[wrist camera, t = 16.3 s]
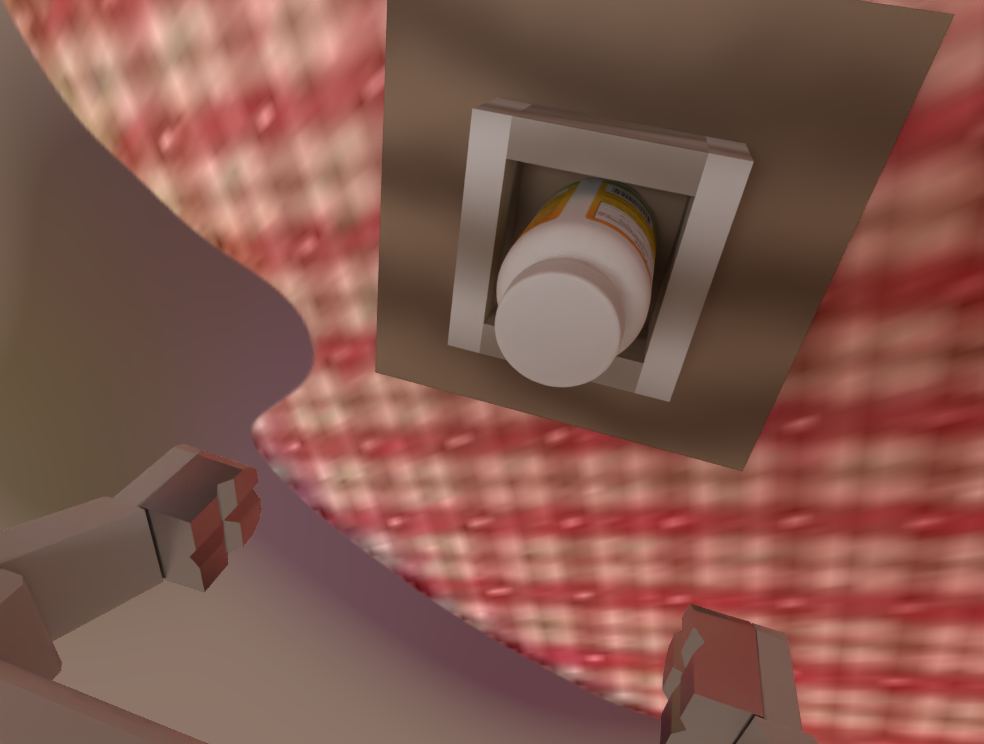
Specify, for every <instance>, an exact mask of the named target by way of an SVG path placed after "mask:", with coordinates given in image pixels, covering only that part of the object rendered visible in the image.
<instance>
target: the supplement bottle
mask: <svg viewBox="0 0 984 744" xmlns="http://www.w3.org/2000/svg"><path fill="white" fill-rule="evenodd" d="M656 250H657V229H656V224H655V221H654V218H653V215H652V213H651V211H650V209H649V207H648V206H647V204H646V203H645V202H644V200H643V199H642V198H641V197H640V196H639V195H638V194H637V193H636V192H635V191H633V190H632V189H631V188H629V187H627V186H626V185H624V184H622V183H619V182H617V181H614V180H610V179H605V178H588V179H582V180H578V181H575V182H572V183H570V184H568V185H566V186H564V187H563V188H561V189H560V190H558V191H557V192H556V193H554V194H553V195H552V196H551V197H550V198H549V199H548V200H547V201H546V203H545V204H544V205H543V206H542V208H541V209H540V210H539V212H538V213H537V215H536V216H535V217H534V219H533V220H532V221H531V223H530V224H529V225H528V226H527V228H526V229H525V230H524V232H523V233H522V234H521V236H520V237H519V238H518V240H517V241H516V242H515V244H514V245H513V246H512V248H511V249H510V251H509V252H508V254H507V256H506V257H505V259H504V261H503V263H502V266H501V268H500V272H499V275H498V280H497V290H496V292H497V303H498V308H497V311H496V316H495V334H496V339H497V343H498V346H499V348H500V350H501V352H502V354H503V355H504V357H505V358H506V360H507V361H508V362H509V363H510V365H511V366H512V367H513V368H514V369H516V370H517V371H518V372H519V373H521V374H522V375H523V376H525V377H527V378H528V379H530V380H532V381H535V382H537V383H540V384H543V385H546V386H553V387H572V386H578V385H581V384H585V383H587V382H590V381H591V380H593V379H595V378H597V377H598V376H600V375H601V374H602V373H603V372H604V371H606V370H607V369H608V367H609V366H610V365H611V364H612V362H613V361H614V359H615V357H616V356H617V355H618V354H620V353H621V352H622V351H624V350H625V349H626V348H627V347H628V346H629V345H630V344H631V343H632V342H633V341H634V340H635V338H636V337H637V336H638V334H639V333H640V331H641V329H642V327H643V325H644V323H645V320H646V317H647V314H648V310H649V305H650V301H651V290H652V280H653V274H654V265H655V258H656Z"/></svg>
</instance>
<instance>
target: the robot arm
mask: <svg viewBox="0 0 984 744" xmlns="http://www.w3.org/2000/svg"><path fill="white" fill-rule="evenodd" d="M257 483H258V477H257V470H256V469H255V468H252V467H250V466H247V465H244V464H242V463H239V462H235V461H233V460H230V459H227V458H224V457H221V456H218V455H215V454H213V453H210V452H207V451H203V450H200V449H197V448H194V447H191V446H188V445H185V444H182V445H179V446H176V447H173V448H172V449H171V450H170V451H168V452H167V453H166V454H165V455H164V456H163V457H161V458H160V459H159V460H158V461H157V462H155V463H154V464H153V465H152V466H151V467H149V468H148V469H147V470H146V471H145V472H143V473H142V474H141V475H140V476H139V477H137V478H136V479H135V480H134V481H133V482H132V483H130V484H129V485H128V486H127V487H126V488H124V489H123V490H122V491H121V492H120V493H118V494H117V495H116V496H115V497H114V498H110V497H107V496H105V497H102V498H99V499H96V500H93V501H89V502H87V503H84V504H80V505H77V506H74V507H71V508H69V509H65V510H62V511H59V512H56V513H53V514H50V515H48V516H44V517H41V518H38V519H35V520H33V521H29V522H26V523H24V524H20V525H17V526H14V527H11V528H8V529H5V530H2V531H0V744H208V743H205V742H203V741H200V740H198V739H195V738H193V737H191V736H188V735H186V734H183V733H181V732H178V731H176V730H173V729H171V728H168V727H166V726H163V725H161V724H158V723H156V722H153V721H151V720H148V719H146V718H144V717H141V716H139V715H136V714H134V713H131V712H129V711H126V710H124V709H121V708H119V707H117V706H114V705H111V704H109V703H107V702H104V701H102V700H99V699H97V698H94V697H92V696H89V695H87V694H84V693H82V692H79V691H77V690H74V689H72V688H70V687H67V686H65V685H62V684H60V683H57V682H55V681H52V680H53V679H54V678H55V677H56V675H58V673H59V672H60V671H61V666H62V661H61V659H60V657H59V655H58V653H57V651H56V649H55V646H54V644H53V642H52V641H54V640H56V639H58V638H60V637H62V636H64V635H65V634H67V633H69V632H71V631H73V630H75V629H77V628H78V627H80V626H82V625H84V624H86V623H88V622H89V621H91V620H93V619H95V618H97V617H98V616H100V615H102V614H104V613H106V612H108V611H110V610H112V609H113V608H115V607H117V606H119V605H121V604H123V603H125V602H126V601H128V600H130V599H132V598H134V597H136V596H138V595H139V594H141V593H143V592H145V591H147V590H149V589H151V588H152V587H154V586H156V585H158V584H160V583H161V582H163V579H165V580H168V581H171V582H174V583H177V584H180V585H184V586H187V587H190V588H193V589H196V590H199V591H202V592H205V591H206V590H207V589H208V588H209V587H210V585H211V584H212V583H213V582H214V581H215V579H216V578H217V577H218V576H219V575H220V573H221V572H222V571H223V570H224V569H225V567H226V566H227V565H228V553H229V552H232V551H234V550H236V549H239V548H240V547H243V546H244V545H245V544H246V542H247V541H248V540H249V539H250V537H251V536H252V535H253V533H254V531H255V529H256V526H257V524H258V522H259V520H260V513H261V500H260V498H259V497H258V495H257V494H256V493H255V492H254V490H253V488H254V487H255V486H256V485H257ZM662 689H663V691H664V693H665V695H666V697H667V698H668V702H667V704H666V706H665V708H664V710H663V712H662V714H661V730H660V744H818V743H817V741H816V740H815V738H814V737H813V736H812V735H810V734H807V733H804V732H803V731H802V725H801V718H800V712H799V705H798V699H797V692H796V686H795V679H794V673H793V667H792V660H791V654H790V647H789V641H788V638H787V637H786V635H785V633H783V632H779V631H776V630H773V629H770V628H766V627H763V626H760V625H757V624H754V623H750V622H749V621H745V620H742V619H739V618H735V617H732V616H729V615H725V614H722V613H719V612H715V611H712V610H709V609H705V608H702V607H699V606H696V605H692V604H691V605H690V606H688V607H687V609H686V611H685V613H684V615H683V617H682V631H679V632H677V633H674V636H673V638H672V640H671V643H670V645H669V648H668V652H667V655H666V659H665V665H664V672H663V686H662Z"/></svg>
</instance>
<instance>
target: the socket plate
mask: <svg viewBox="0 0 984 744" xmlns="http://www.w3.org/2000/svg"><path fill="white" fill-rule="evenodd" d="M954 15H955V14H948V13H941V12H934V11H927V10H920V9H913V8H906V7H899V6H892V5H885V4H878V3H871V2H864V1H857V0H387V28H386V59H385V90H384V121H383V152H382V183H381V214H380V245H379V276H378V307H377V338H376V369H375V372H377V373H380V374H384V375H388V376H391V377H395V378H399V379H402V380H406V381H410V382H414V383H417V384H421V385H425V386H428V387H432V388H436V389H439V390H443V391H447V392H451V393H454V394H458V395H462V396H465V397H469V398H473V399H477V400H480V401H484V402H488V403H491V404H495V405H499V406H502V407H506V408H510V409H514V410H517V411H521V412H525V413H528V414H532V415H536V416H539V417H543V418H547V419H551V420H554V421H558V422H562V423H565V424H569V425H573V426H576V427H580V428H584V429H588V430H591V431H595V432H599V433H602V434H606V435H610V436H614V437H617V438H621V439H625V440H628V441H632V442H636V443H639V444H643V445H647V446H651V447H654V448H658V449H662V450H665V451H669V452H673V453H676V454H680V455H684V456H688V457H691V458H695V459H699V460H702V461H706V462H710V463H713V464H717V465H721V466H725V467H728V468H732V469H736V470H739V471H743V469H744V467H745V465H746V463H747V461H748V458H749V456H750V454H751V452H752V450H753V448H754V446H755V443H756V441H757V439H758V437H759V435H760V433H761V430H762V428H763V426H764V424H765V422H766V420H767V418H768V415H769V413H770V411H771V409H772V407H773V405H774V402H775V400H776V398H777V396H778V394H779V392H780V390H781V387H782V385H783V383H784V381H785V379H786V377H787V374H788V372H789V370H790V368H791V366H792V364H793V362H794V359H795V357H796V355H797V353H798V351H799V349H800V346H801V344H802V342H803V340H804V338H805V336H806V334H807V331H808V329H809V327H810V325H811V323H812V321H813V318H814V316H815V314H816V312H817V310H818V308H819V306H820V303H821V301H822V299H823V297H824V295H825V293H826V290H827V288H828V286H829V284H830V282H831V280H832V278H833V275H834V273H835V271H836V269H837V267H838V265H839V262H840V260H841V258H842V256H843V254H844V252H845V249H846V247H847V245H848V243H849V241H850V239H851V237H852V234H853V232H854V230H855V228H856V226H857V224H858V221H859V219H860V217H861V215H862V213H863V211H864V209H865V206H866V204H867V202H868V200H869V198H870V196H871V193H872V191H873V189H874V187H875V185H876V183H877V181H878V178H879V176H880V174H881V172H882V170H883V168H884V165H885V163H886V161H887V159H888V157H889V155H890V153H891V150H892V148H893V146H894V144H895V142H896V140H897V137H898V135H899V133H900V131H901V129H902V127H903V125H904V122H905V120H906V118H907V116H908V114H909V112H910V109H911V107H912V105H913V103H914V101H915V99H916V97H917V94H918V92H919V90H920V88H921V86H922V84H923V81H924V79H925V77H926V75H927V73H928V71H929V69H930V66H931V64H932V62H933V60H934V58H935V56H936V53H937V51H938V49H939V47H940V45H941V43H942V41H943V38H944V36H945V34H946V32H947V30H948V28H949V25H950V23H951V21H952V19H953V17H954ZM588 178H605V179H610V180H614V181H617V182H619V183H622V184H624V185H626V186H627V187H629V188H631V189H632V190H633V191H635V192H636V193H637V194H638V195H639V196H640V197H641V198H642V199H643V200H644V202H645V203H646V204H647V206H648V207H649V209H650V211H651V213H652V215H653V218H654V221H655V224H656V229H657V250H656V258H655V265H654V274H653V280H652V290H651V301H650V305H649V310H648V314H647V317H646V320H645V323H644V325H643V327H642V329H641V331H640V333H639V334H638V336H637V337H636V338H635V340H634V341H633V342H632V343H631V344H630V345H629V346H628V347H627V348H626V349H625V350H624V351H622V352H621V353H620V354H618V355H617V356H616V357H615V359H614V361H613V362H612V364H611V365H610V366H609V367H608V369H607V370H606V371H604V372H603V373H602V374H601V375H600V376H598V377H597V378H595V379H593V380H591V381H590V382H587V383H585V384H581V385H578V386H572V387H553V386H546V385H543V384H540V383H537V382H535V381H532V380H530V379H528V378H527V377H525V376H523V375H522V374H521V373H519V372H518V371H517V370H516V369H514V368H513V367H512V366H511V365H510V363H509V362H508V361H507V360H506V358H505V357H504V355H503V354H502V352H501V350H500V348H499V346H498V343H497V339H496V334H495V316H496V311H497V308H498V303H497V292H496V290H497V280H498V275H499V272H500V268H501V266H502V263H503V261H504V259H505V257H506V256H507V254H508V252H509V251H510V249H511V248H512V246H513V245H514V244H515V242H516V241H517V240H518V238H519V237H520V236H521V234H522V233H523V232H524V230H525V229H526V228H527V226H528V225H529V224H530V223H531V221H532V220H533V219H534V217H535V216H536V215H537V213H538V212H539V210H540V209H541V208H542V206H543V205H544V204H545V203H546V201H547V200H548V199H549V198H550V197H551V196H552V195H553V194H554V193H556V192H557V191H558V190H560V189H561V188H563V187H564V186H566V185H568V184H570V183H572V182H575V181H578V180H582V179H588Z"/></svg>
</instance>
